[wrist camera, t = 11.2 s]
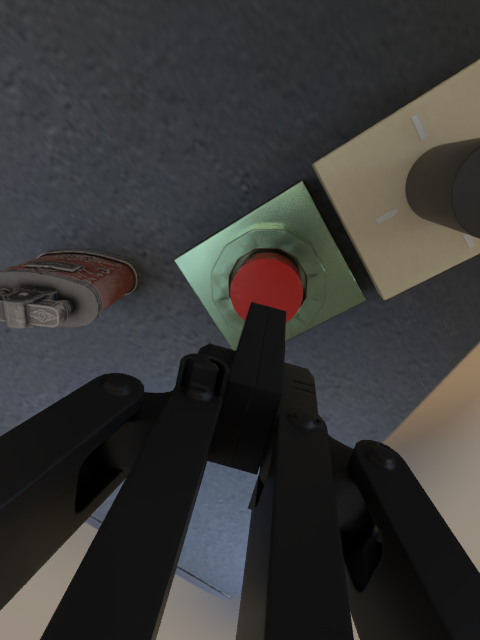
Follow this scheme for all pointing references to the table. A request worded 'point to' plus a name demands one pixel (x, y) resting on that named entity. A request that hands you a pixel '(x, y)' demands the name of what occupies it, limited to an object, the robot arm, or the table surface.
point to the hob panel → (402, 185)
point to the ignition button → (267, 284)
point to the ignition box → (282, 238)
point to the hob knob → (448, 186)
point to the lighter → (64, 288)
